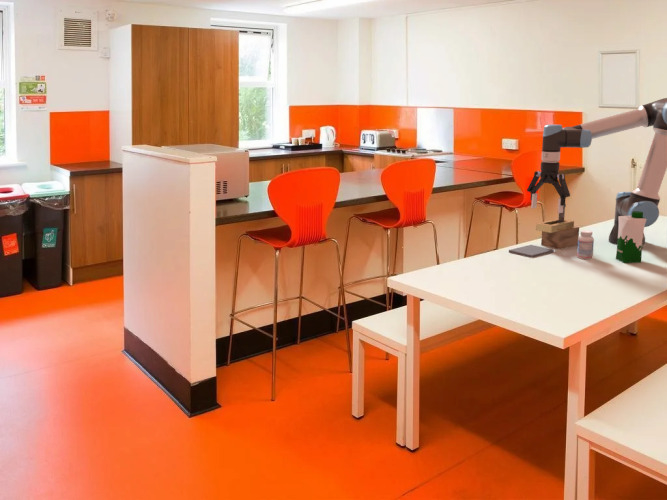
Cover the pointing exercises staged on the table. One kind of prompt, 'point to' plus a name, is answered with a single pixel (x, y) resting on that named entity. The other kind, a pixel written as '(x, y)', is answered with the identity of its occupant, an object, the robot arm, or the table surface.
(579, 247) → the pill bottle
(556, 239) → the walnut stand
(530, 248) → the rubber mat
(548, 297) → the table surface
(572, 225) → the golden brown rectangular frame
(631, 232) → the milk carton
